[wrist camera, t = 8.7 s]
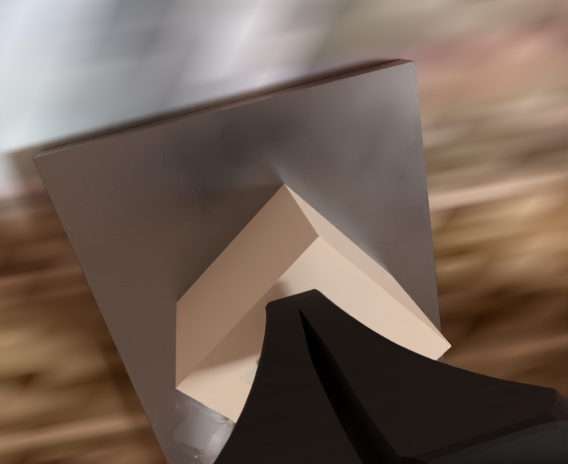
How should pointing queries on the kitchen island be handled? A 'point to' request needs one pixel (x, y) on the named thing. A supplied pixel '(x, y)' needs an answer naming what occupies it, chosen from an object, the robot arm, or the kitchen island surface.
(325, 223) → the block
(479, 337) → the kitchen island surface
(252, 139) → the flat plate
